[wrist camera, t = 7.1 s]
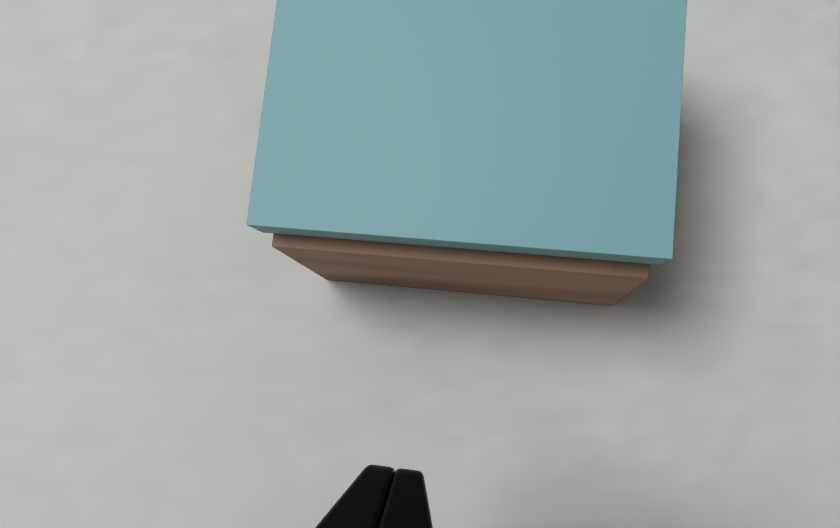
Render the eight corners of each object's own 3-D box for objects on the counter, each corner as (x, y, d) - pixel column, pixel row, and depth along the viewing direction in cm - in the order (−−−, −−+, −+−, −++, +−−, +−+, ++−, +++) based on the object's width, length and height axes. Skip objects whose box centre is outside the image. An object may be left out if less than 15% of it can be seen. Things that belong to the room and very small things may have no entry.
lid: (660, 264, 14) (672, 258, 13) (262, 232, 16) (246, 224, 15) (678, -28, 15) (690, -53, 14) (298, -35, 16) (285, -59, 15)
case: (612, 305, 19) (648, 278, 14) (325, 279, 21) (271, 245, 16) (624, 91, 21) (662, -1, 16) (353, 79, 22) (311, -9, 17)
